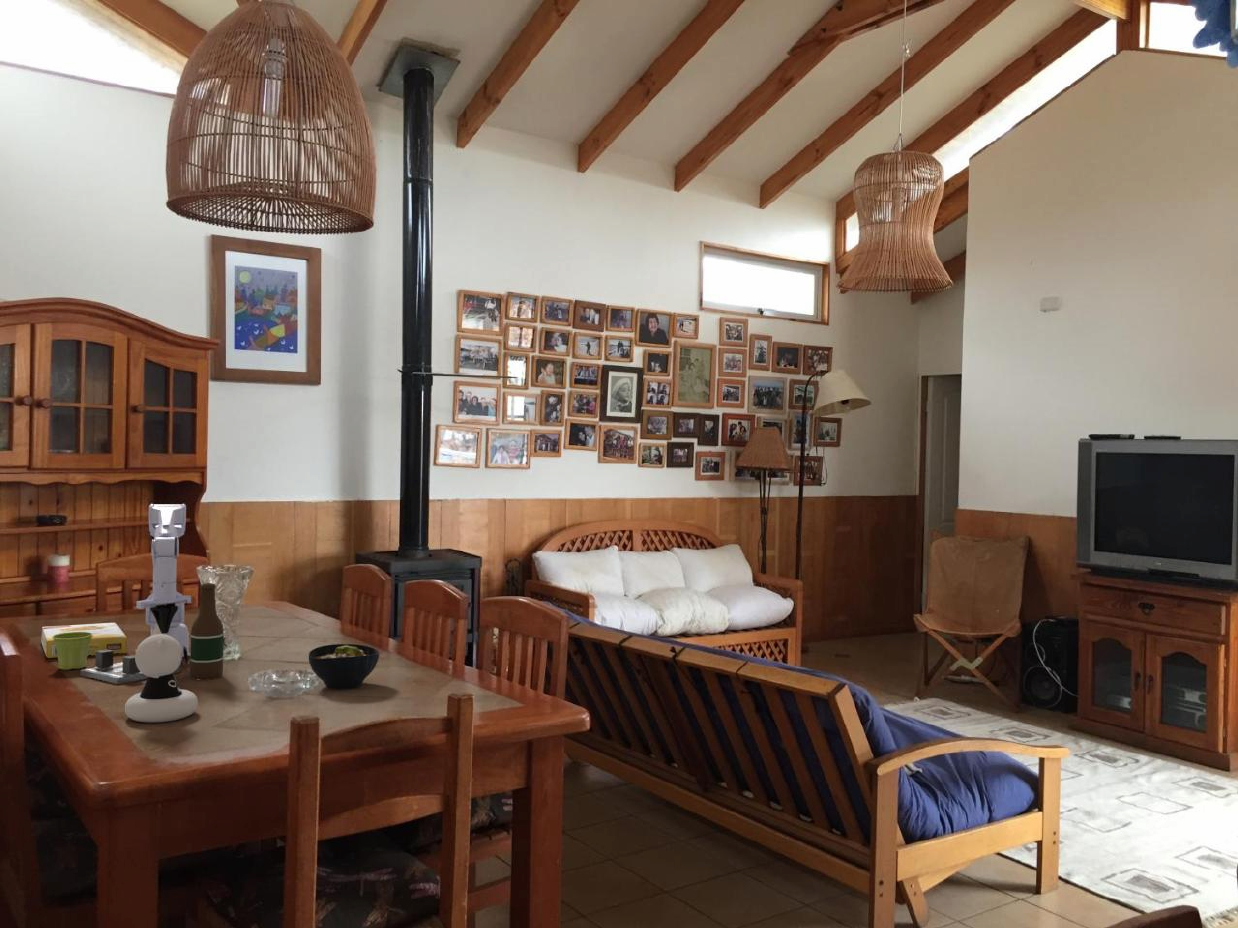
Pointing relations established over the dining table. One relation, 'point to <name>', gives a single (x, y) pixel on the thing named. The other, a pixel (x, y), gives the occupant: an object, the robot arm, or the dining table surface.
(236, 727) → the dining table surface
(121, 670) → the panel
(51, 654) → the cereal box
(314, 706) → the dining table surface
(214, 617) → the beer bottle
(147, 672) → the decorative figurine
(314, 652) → the bowl
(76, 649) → the plant pot
